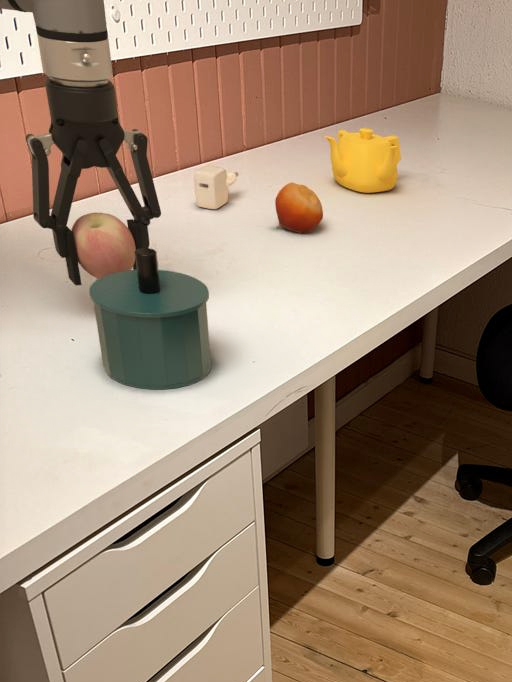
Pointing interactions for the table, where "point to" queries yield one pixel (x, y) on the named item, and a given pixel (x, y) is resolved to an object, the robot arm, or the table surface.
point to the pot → (155, 348)
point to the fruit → (298, 208)
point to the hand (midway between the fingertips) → (107, 277)
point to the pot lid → (148, 290)
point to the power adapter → (212, 186)
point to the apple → (103, 244)
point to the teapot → (365, 160)
